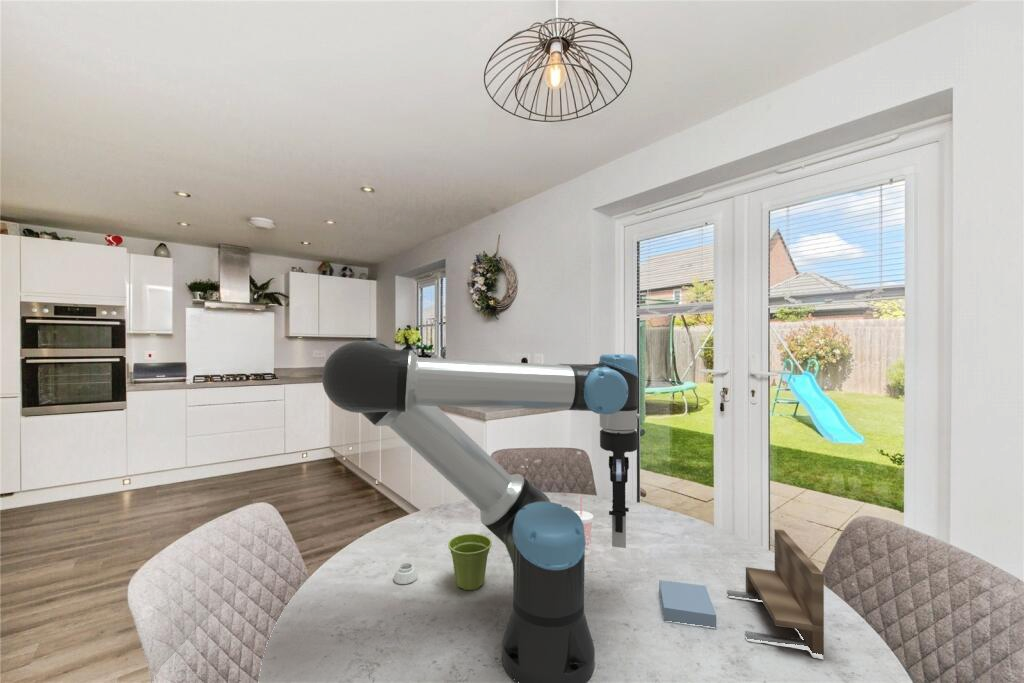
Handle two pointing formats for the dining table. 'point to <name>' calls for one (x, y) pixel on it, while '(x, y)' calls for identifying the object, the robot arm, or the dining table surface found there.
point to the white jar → (405, 574)
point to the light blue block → (686, 603)
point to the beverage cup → (586, 525)
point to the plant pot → (469, 559)
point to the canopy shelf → (789, 594)
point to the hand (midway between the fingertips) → (619, 545)
